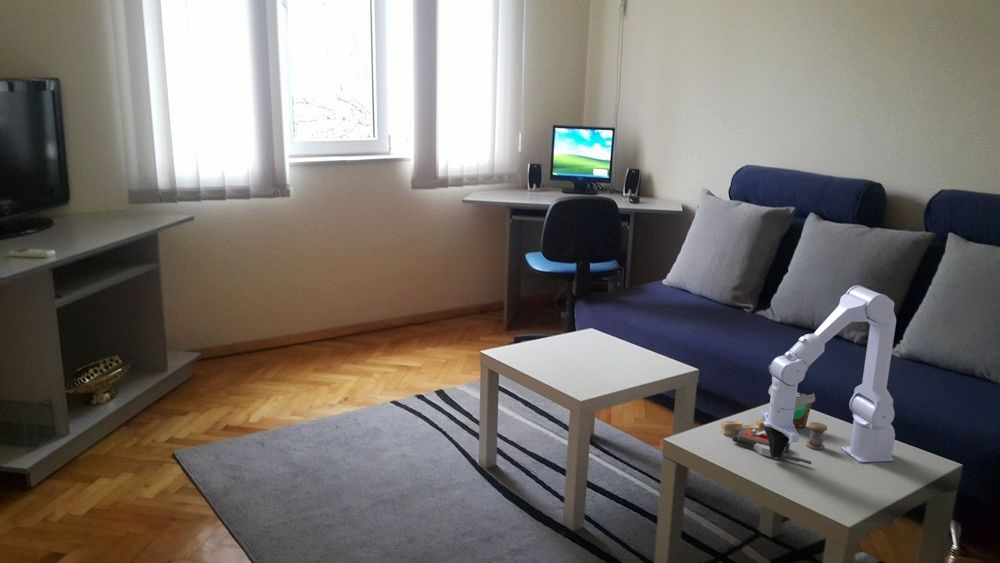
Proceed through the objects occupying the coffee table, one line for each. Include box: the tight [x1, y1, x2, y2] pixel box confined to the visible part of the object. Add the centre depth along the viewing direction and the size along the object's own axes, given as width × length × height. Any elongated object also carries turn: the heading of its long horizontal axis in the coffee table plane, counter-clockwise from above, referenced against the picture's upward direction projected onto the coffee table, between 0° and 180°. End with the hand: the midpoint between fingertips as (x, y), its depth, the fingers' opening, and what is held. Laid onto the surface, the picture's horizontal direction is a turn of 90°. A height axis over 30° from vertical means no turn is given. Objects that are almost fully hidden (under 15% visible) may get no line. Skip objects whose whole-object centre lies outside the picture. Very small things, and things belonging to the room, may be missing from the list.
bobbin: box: [805, 421, 828, 451], centre depth 198 cm, size 4×4×6 cm
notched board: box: [719, 418, 767, 436], centre depth 206 cm, size 15×2×3 cm, turn 100°
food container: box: [768, 383, 816, 430], centre depth 210 cm, size 12×6×10 cm, turn 55°
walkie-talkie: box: [731, 428, 812, 465], centre depth 195 cm, size 9×4×20 cm
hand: (775, 456), depth 190 cm, fingers closed
